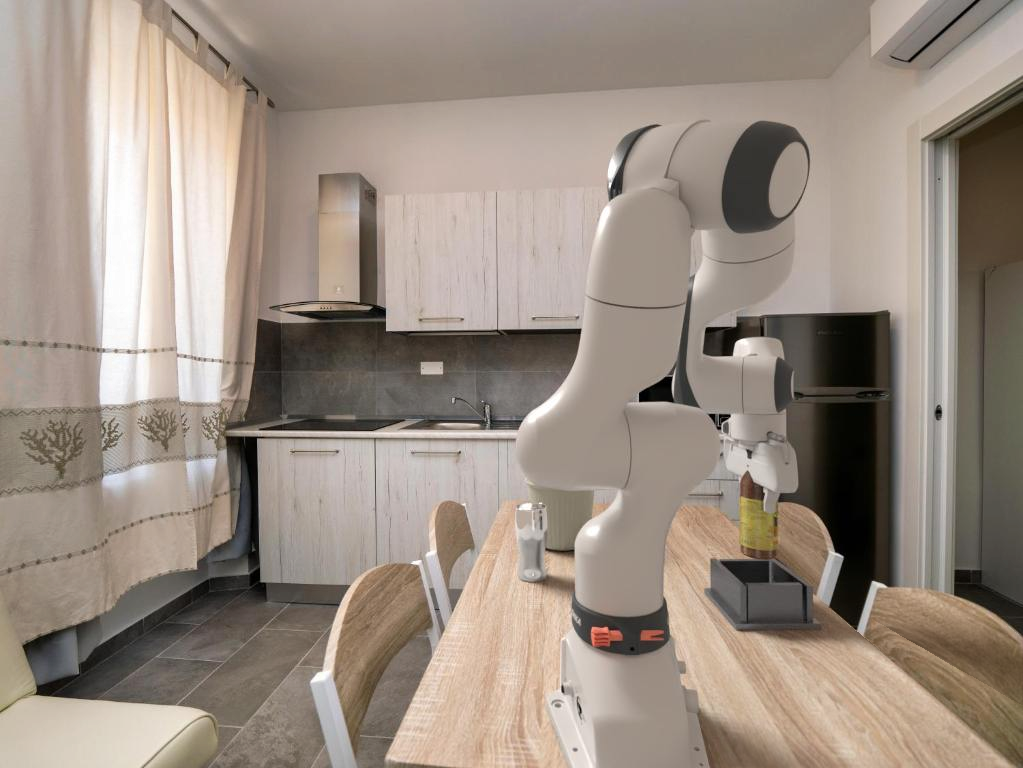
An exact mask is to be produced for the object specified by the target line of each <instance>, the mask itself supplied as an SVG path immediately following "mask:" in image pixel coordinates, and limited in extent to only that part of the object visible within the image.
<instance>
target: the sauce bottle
mask: <svg viewBox="0 0 1023 768" xmlns="http://www.w3.org/2000/svg"><path fill="white" fill-rule="evenodd" d="M746 452H747V458H748V459H752V452H753V451H750V450H749V449H746ZM747 466H748V467H749V465H747ZM739 490H740V491H739V496H738V497H739V510H738V511H739V515H738V516H739V517H738V518H739V521H738V525H739V528H738V529H739V530H738V531H739V539H738V540H739V541H738V542H739V543H738V544H739V551H740V553H741V554H742V555H744V556H745V557H748V558H749V559H763V560H769V559H773V558H774V559H776V557H777V554H778V551H777V550H778V548H779V499H778V500H777V502H776V511H775V513H766V512H764V511H763V510H762V509H761V501H764V496H765V493H764V492H763V486H761V485H759V484H756V483H755V482H754V481H753V479H752V477H751V475H750V472H749V471H748V470H747V471H746V472H745V474H744V475H743V477H742V478H741V481H740V483H739Z"/></svg>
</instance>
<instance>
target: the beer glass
mask: <svg viewBox="0 0 1023 768" xmlns="http://www.w3.org/2000/svg"><path fill="white" fill-rule="evenodd" d="M514 517H515V518H514V530H515V531H514V532H515V537H516V538H515V539H516V545H517V550H518V556H519V557H518V558H519V564H518V565H519V566H518V572H517V577H518V579H519V580H521V581H523V582H528V583H537V582H541V581H544V580H545V579H546V578H547V569H546V563H545V559H546V557H545V555H546V549H547V548H546V543H547V536H548V516H547V506H546V505H545V504H543V503H537V502H530V501H528V502H521V503H517V504H516V506H515V515H514Z"/></svg>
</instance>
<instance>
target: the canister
mask: <svg viewBox="0 0 1023 768" xmlns="http://www.w3.org/2000/svg"><path fill="white" fill-rule="evenodd" d="M524 482H525V483H526V484H527V491H528V499H529V501H528V502H537V503H543V504H545V505H546V506H547V516H548V536H547V543H546V549H547V550H552V551H559V552H560V551H561V552H562V551H563V552H565V551H575V540H576V537H577V535H578V533H579V531H580V530H581V528H582V527H583V526H584V525H585V523H586V522H588V521H589V520H590V519H592V518H593V511H594V510H593V508H594V499H595V497H594V496H595V490H593V491H564V490H557V489H551V488H546V487H540V486H535V485H533V484H532V483H531V482H530V481H529V480H528V479H527V478H526V477H525V479H524Z"/></svg>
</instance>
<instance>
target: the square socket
mask: <svg viewBox="0 0 1023 768" xmlns="http://www.w3.org/2000/svg"><path fill="white" fill-rule="evenodd" d="M709 563H710V564H709V565H710V572H709V574H710V577H709V578H710V579H709V580H710V587H704V591H703V592H704V593H703V594H704V595H705V596H706V597H707V598H708V599H709V600H710V602H711V603H712V604H713V606H715V607H716V609H717V610H718V611H719V613H721V615H722V616H723V617H724V618H725V619H726V620H727V622H728V623H729V625H731V626H732V627H733V629H734V630H735V631H782V630H783V631H785V629H786V631H789V630H790V629H792V630H793V631H794V629H796V631H797V630H801V631H803V630H804V631H805V629H807V630H808V629H817V630H822V623H821V622H820V621H818V620H817V618H815V617H814V585H812V584H811V583H809V582H808V581H807V580H805V579H804V578H802V577H801V576H799V575H798V574H797V573H796V572H794V571H793V570H791V569H790V568H788V567H787V566H786V565H784V564H783V563H781V562H780V561H779V560H777V559H776V558H773V559H769V560H763V559H754V558H721V559H720V558H719V560H718V559H717V558H716V557H715V558H714V557H713V558H710V559H709ZM802 629H803V630H802ZM790 631H791V630H790ZM808 631H809V630H808Z"/></svg>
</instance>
